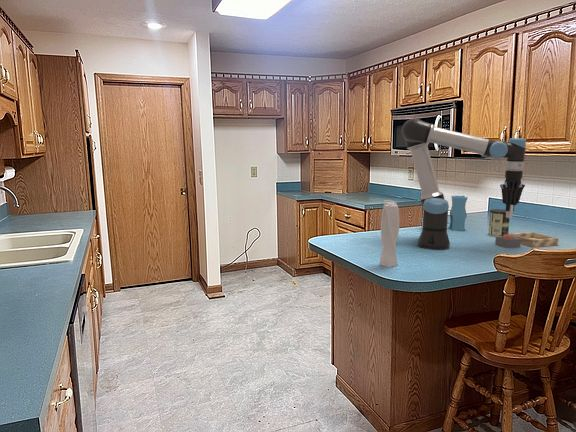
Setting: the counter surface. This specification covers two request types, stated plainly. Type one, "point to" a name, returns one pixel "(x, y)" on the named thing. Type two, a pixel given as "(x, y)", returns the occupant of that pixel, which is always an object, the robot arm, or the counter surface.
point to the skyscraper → (389, 233)
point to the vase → (458, 213)
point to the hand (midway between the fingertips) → (508, 217)
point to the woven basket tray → (536, 239)
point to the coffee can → (498, 223)
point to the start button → (508, 236)
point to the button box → (507, 242)
